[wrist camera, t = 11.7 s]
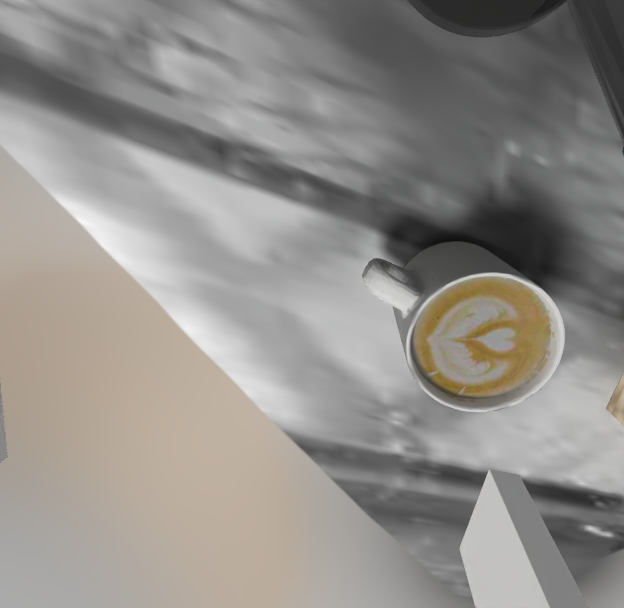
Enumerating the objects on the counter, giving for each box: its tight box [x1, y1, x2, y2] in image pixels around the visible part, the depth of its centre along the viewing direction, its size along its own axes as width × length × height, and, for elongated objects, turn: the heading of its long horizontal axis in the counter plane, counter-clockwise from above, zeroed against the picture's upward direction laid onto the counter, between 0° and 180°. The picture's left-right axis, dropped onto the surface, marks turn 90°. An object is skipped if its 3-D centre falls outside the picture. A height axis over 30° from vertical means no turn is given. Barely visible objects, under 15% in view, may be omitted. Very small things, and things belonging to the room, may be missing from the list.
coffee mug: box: [362, 241, 565, 412], centre depth 32 cm, size 13×10×10 cm
